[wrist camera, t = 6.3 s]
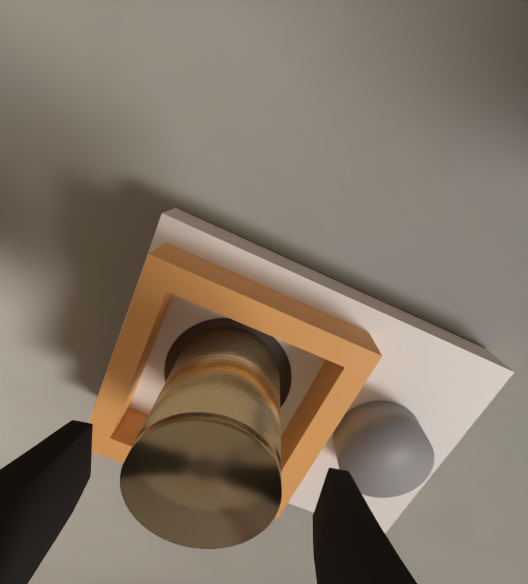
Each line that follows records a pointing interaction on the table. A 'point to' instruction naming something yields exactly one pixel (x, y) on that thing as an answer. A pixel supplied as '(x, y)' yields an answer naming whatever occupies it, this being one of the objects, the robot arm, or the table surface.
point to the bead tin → (210, 445)
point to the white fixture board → (301, 365)
